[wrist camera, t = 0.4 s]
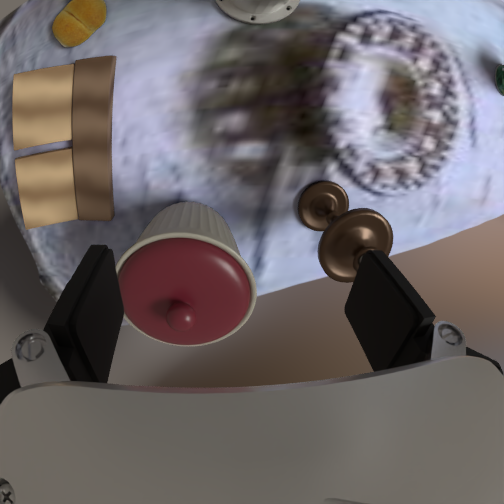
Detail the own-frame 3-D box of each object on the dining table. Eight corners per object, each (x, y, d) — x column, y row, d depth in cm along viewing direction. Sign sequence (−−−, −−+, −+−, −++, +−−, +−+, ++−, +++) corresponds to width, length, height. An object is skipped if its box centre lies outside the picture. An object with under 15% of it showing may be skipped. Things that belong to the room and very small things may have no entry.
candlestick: (291, 177, 45) (415, 353, 16) (353, 173, 46) (507, 313, 17) (292, 236, 51) (376, 421, 22) (349, 229, 52) (460, 385, 22)
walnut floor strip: (81, 60, 30) (75, 60, 29) (116, 56, 31) (112, 55, 30) (83, 215, 44) (79, 220, 42) (114, 215, 45) (111, 220, 43)
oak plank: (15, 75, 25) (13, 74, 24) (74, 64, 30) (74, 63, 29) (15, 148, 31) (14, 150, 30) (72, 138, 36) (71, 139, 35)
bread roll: (118, 13, 28) (109, 7, 24) (75, 54, 30) (64, 53, 26) (90, -13, 24) (80, -19, 20) (50, 28, 26) (38, 26, 22)
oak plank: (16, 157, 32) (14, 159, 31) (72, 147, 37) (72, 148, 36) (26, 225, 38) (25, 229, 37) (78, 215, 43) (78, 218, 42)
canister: (125, 256, 49) (92, 346, 31) (160, 165, 42) (123, 227, 24) (214, 290, 55) (220, 384, 38) (262, 211, 48) (294, 294, 30)
